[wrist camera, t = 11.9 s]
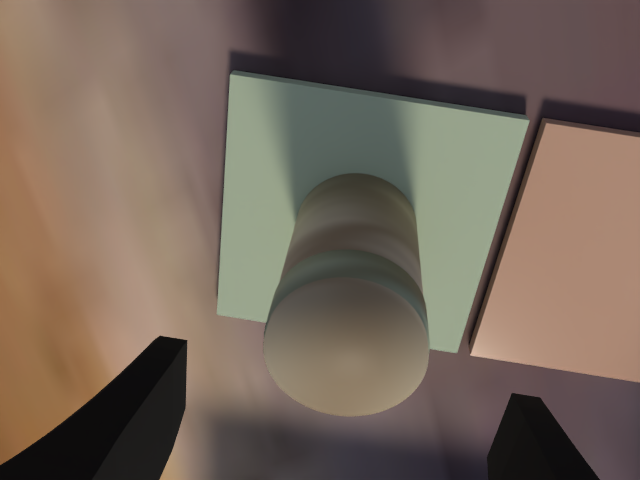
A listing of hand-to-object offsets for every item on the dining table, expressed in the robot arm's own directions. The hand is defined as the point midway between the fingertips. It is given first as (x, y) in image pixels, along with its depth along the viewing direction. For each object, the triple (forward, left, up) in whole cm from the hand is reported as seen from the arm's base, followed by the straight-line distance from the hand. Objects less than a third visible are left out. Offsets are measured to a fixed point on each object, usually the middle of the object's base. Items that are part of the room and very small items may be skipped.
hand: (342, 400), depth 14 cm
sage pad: (0, 0, -8) cm, 8 cm away
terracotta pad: (-9, 0, -8) cm, 13 cm away
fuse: (0, 0, -8) cm, 8 cm away
